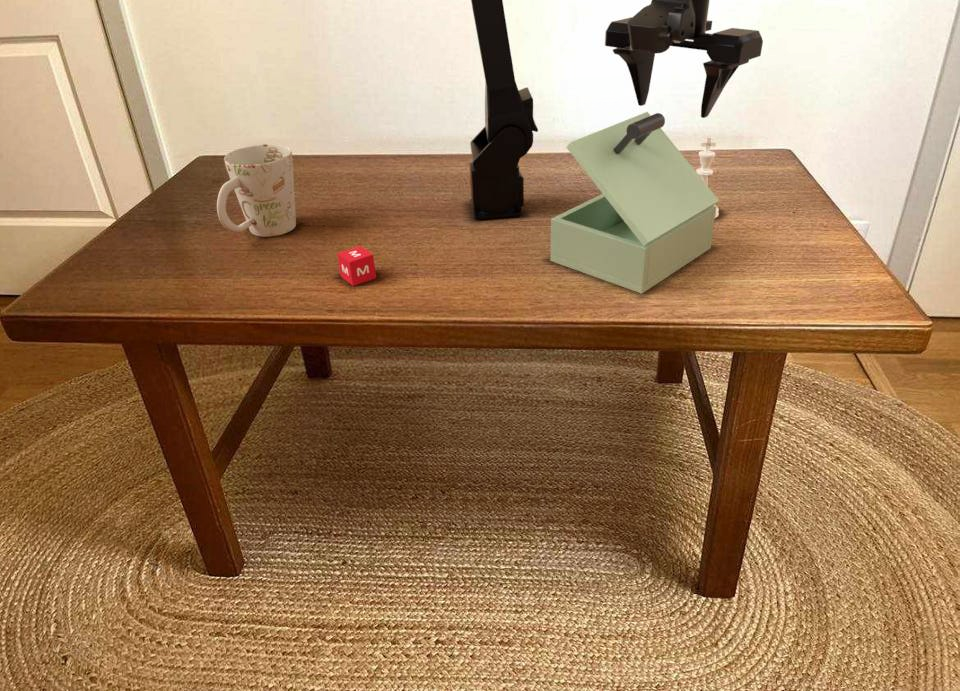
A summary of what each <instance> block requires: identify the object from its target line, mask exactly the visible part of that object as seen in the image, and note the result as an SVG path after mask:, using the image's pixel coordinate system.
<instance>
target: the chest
mask: <svg viewBox="0 0 960 691" xmlns="http://www.w3.org/2000/svg"><path fill="white" fill-rule="evenodd" d="M716 206H717V205H716ZM716 206H712V207H710V208H708V209H707V210H705V211H703V212H702V213H700V214H698V215H697V216H695V217H693V218H692V219H690V220H688V221H686V222H685V223H683V224H681V225H680V226H678V227H676V228H675V229H673V230H671V231H670V232H668V233H666V234H665V235H663V236H661V237H660V238H658V239H656V240H654V241H653V242H651V243H649V244H648V245H646V246H643V245H642V243H641V242H640V241H639V239H638V238H637V237H636V236H635V234H634V233H633V232H632V231H631V229H630V228H629V227H628V225H627V224H626V223H625V222H624V220H623V219H622V218H621V217H620V215H619V214H618V213H617V211H616V210H615V209H614V208H613V206H612V205H611V204H610V202H609V201H608V200H607V199H606V197H605V196H604V195H603V194H602V193H601V194H599V195H596V196H595V197H593V198H591V199H589V200H586V201H585V202H582V203H581V204H578V205H576V206H574V207H572V208H570V209H568V210H566V211H564V212H562V213H560V214H558V215H556V216H554V217H552V218H550V251H549V252H550V254H549V256H550V257H549V258H550V262H553V263H555V264H558V265H561V266H564V267H567V268H569V269H571V270H574V271H578V272H580V273H583V274H586V275H588V276H591V277H595V278H597V279H599V280H601V281H605V282H607V283H610V284H613V285H616V286H619V287H621V288H625V289H627V290H631V291H633V292H636V293H639V294H641V295H642V294H644V293H645V292H647V291H648V290H650V289H651V288H653V287H654V286H656V285H657V284H659V283H660V282H662V281H664V280H665V279H667V278H668V277H669V276H671V275H672V274H674V273H675V272H677V271H679V270H680V269H681V268H683V267H685V266H686V265H687V264H689V263H691V262H692V261H693V260H695V259H697V258H698V257H700V256H701V255H703V254H704V253H706V252H707V251H709V250H711V249H712V248H711V246H712V242H713V234H714V227H715V220H716V218H715V214H716Z"/></svg>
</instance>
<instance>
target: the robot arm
mask: <svg viewBox="0 0 960 691" xmlns="http://www.w3.org/2000/svg"><path fill="white" fill-rule="evenodd" d="M470 2H471V9H472V14H473V20H474V25H475V26H474V27H475V30H476V31H475V32H476V37H477V42H478V48H479V52H480V53H479V54H480V59H481V64H482V69H483V76H484V81H485V82H484V83H485V84H484V126H483V128H482V129H481V130H480V131H479V132H478V133H477V134H476V135H475V136H474V137H473V138H472V140H470V143H469V144H470V151H471V152H470V153H471V159H472V162H470V163H469V178H470V199H469V206H470V209H471V213H472V217H473V219H474V220H487V219H500V218H513V217H521V216H523V211H522V210H523V209H522V208H523V207H524V205H525V198H524V197H525V192H524V190H525V189H524V186H525V185H524V176H523V174H522V172H521V171H520V165H519V163H520V160H521V158H523V157H524V156H526V155H527V154H528V153H529V152H530V150H531V148H532V147H533V144H534V132H535V133H538V132H539V129H538V127H537V126H538V125H537V123H536V121H535V119H534V99H533V95H532V94H531V92H530V89H529V87H523V88H522V89H520V90H519V88H518V86H517V83H516V78H515V71H514V64H513V58H512V52H511V51H512V50H511V46H510V39H509V34H508V26H507V20H506V14H505V8H504V3H503V0H470ZM709 6H710V0H651V2H650V4H649V5H646V6H644V7H642V8H641V9H640V10H639V11H638V12H637V13H636V14H634V15H633V16H630V17H627V18H622V19H618V20H613V21H611V22H610V23H609V24H608V26H607V29H606V30H605V36H604V46H605V47H610V48H613V49H612V52H613V54H614V55H618V57H620V58H621V59H622V61H624V62H625V64H626V66H627V69H628V72H629V75H630V77H631V81H632V82H631V83H632V85H633V90H634V92H635V97H636V101H637V105H638V106H640V107H642V106H645V105H646V104H647V100H648V96H649V93H650V86H651V80H652V74H653V68H654V63H655V57H656V54H662V53H665V52H666V51H668V50H669V49H670V47H676V48H683V49H692V50H698V51H706V55H707V56H708V57H709V59H710V60H708V61H705V62H703V63H702V65H703V68H704V71H705V81H704V87H703V94H702V99H701V106H700V117H701V118H702V119H705V118H707V117H708V116H709V115H710V113H711V112H712V110H713V108H714V106H715V105H716V104H717V101H718V99H719V98H720V96H721V94H722V92H723V90H724V89H725V87H726V86H727V85H728V84H727V83H729V81H730V79H731V78H732V76H734V74H735V72H736V71H737V69H738V68H739V67H740V66H742V65H745V64H748V63H749V62H750V60H753V59H755V58H759V57H761V54H762V49H763V43H764V40H763V37H762V35H761V33H760V31H759V30H756V29H746V28H736V27H731V28H726V29H723V30H720V31H717V32H713V33H708V32H709V31H711V30H712V26H713V20H708V15H709V8H710V7H709Z"/></svg>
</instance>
